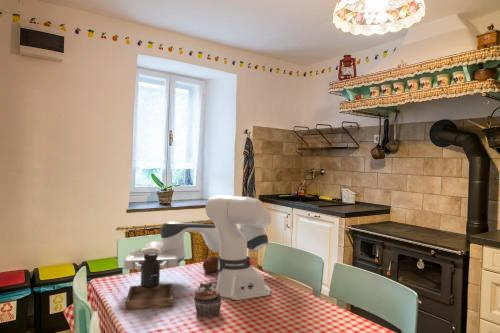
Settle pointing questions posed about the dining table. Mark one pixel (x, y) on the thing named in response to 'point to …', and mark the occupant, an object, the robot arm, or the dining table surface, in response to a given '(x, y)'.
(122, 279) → the dining table surface
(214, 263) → the potato
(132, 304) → the tray
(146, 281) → the supplement bottle
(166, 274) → the dining table surface
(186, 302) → the dining table surface
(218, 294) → the cupcake
